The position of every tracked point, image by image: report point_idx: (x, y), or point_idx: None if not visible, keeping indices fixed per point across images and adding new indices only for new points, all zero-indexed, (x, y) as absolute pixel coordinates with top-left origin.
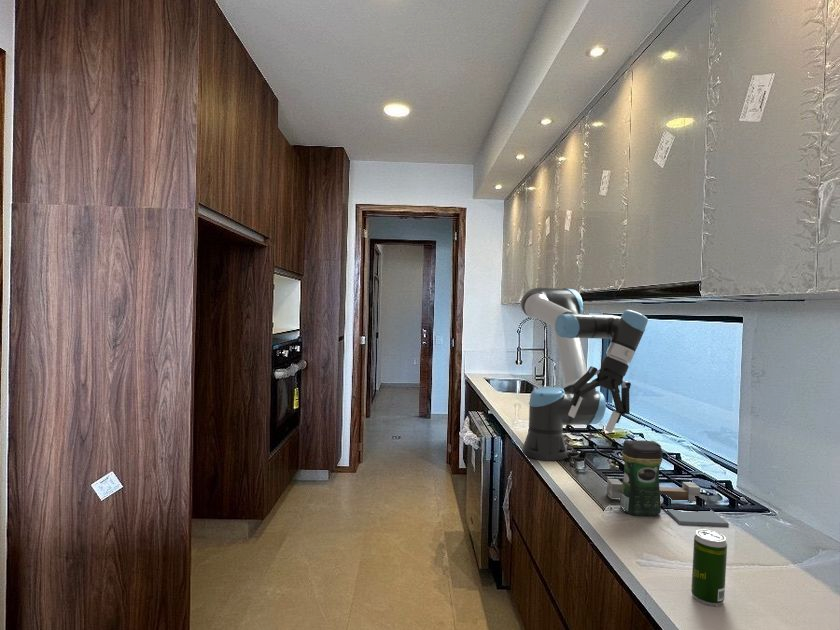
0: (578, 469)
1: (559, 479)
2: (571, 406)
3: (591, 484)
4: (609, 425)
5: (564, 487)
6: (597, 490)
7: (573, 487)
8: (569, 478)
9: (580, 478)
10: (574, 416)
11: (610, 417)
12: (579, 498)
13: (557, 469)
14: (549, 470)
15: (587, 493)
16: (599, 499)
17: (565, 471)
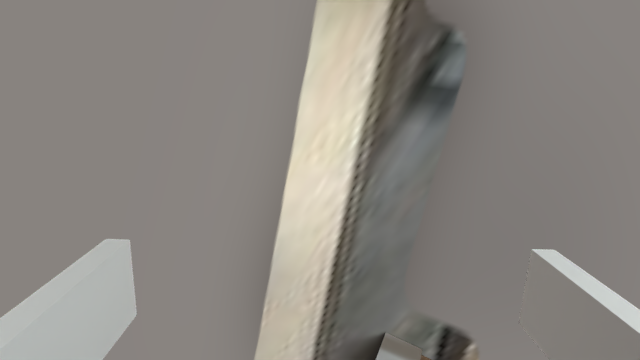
0: (452, 47)
1: (300, 157)
2: (47, 284)
3: (392, 233)
4: (559, 317)
5: (280, 233)
6: (377, 290)
7: (309, 241)
8: (343, 154)
9: (388, 163)
10: (127, 323)
11: (633, 333)
12: (280, 324)
13: (351, 38)
14: (311, 48)
15: (326, 301)
16: (336, 353)
17: (373, 69)
